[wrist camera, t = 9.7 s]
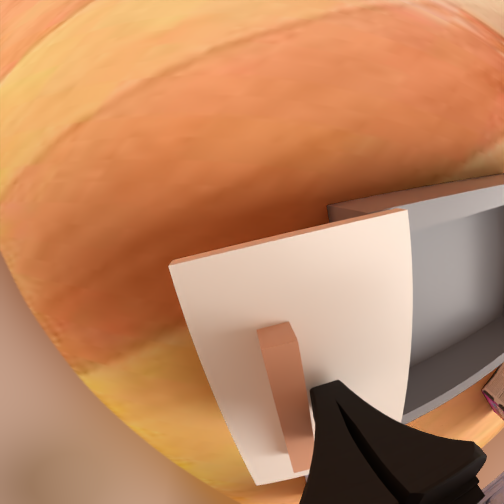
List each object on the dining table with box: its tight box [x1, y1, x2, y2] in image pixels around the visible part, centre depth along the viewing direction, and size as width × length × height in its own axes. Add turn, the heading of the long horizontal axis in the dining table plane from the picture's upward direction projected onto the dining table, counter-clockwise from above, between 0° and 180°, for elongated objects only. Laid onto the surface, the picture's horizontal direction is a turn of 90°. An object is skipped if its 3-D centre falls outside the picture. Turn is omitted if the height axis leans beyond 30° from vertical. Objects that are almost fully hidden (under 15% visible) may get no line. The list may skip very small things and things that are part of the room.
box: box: [327, 173, 504, 425], centre depth 15 cm, size 18×14×5 cm
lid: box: [168, 208, 413, 486], centre depth 11 cm, size 9×14×2 cm, turn 13°
